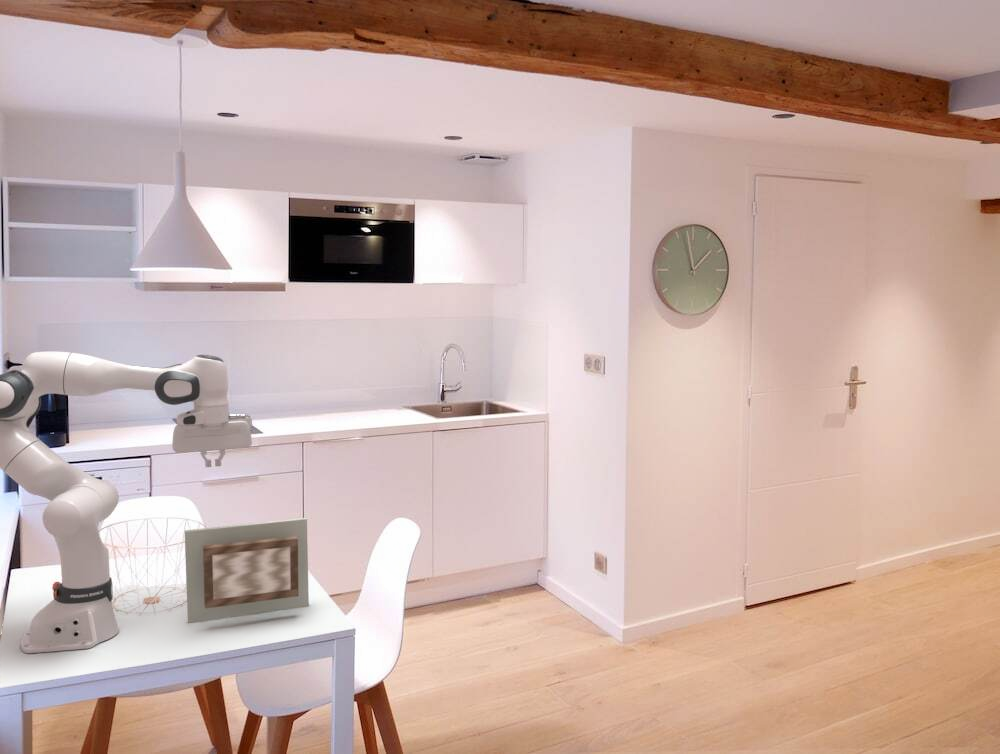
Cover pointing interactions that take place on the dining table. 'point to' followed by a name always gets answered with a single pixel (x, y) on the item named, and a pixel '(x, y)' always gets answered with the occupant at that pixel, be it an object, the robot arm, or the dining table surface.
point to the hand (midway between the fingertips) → (213, 466)
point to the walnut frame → (250, 571)
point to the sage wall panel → (241, 534)
